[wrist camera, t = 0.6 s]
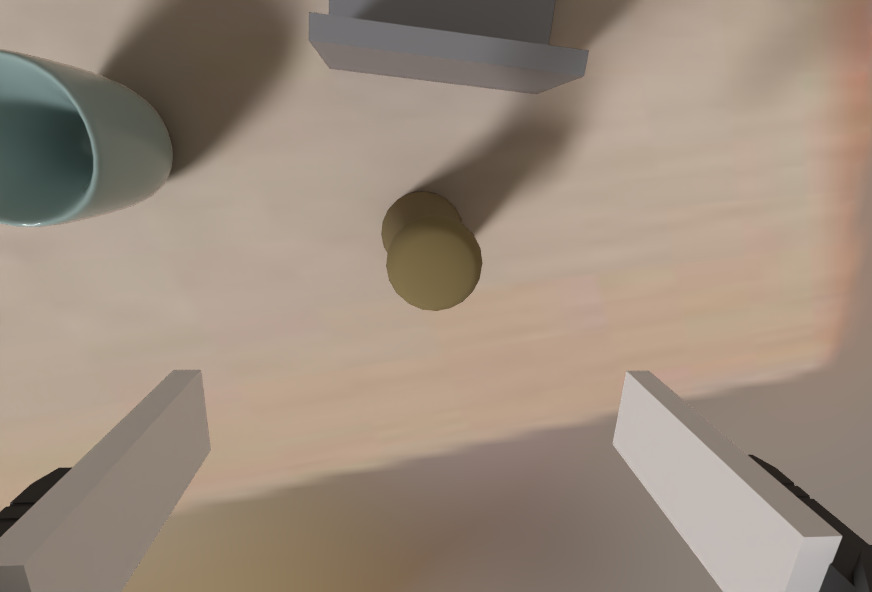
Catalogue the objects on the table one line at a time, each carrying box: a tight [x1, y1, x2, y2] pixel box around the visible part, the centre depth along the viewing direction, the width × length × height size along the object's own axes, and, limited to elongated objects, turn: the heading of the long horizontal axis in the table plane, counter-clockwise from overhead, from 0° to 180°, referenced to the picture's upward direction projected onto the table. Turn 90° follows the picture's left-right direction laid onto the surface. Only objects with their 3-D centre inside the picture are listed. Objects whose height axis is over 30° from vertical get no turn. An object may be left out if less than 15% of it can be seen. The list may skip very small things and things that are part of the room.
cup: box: [0, 49, 173, 227], centre depth 25 cm, size 8×8×10 cm
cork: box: [381, 191, 482, 311], centre depth 28 cm, size 6×6×11 cm
